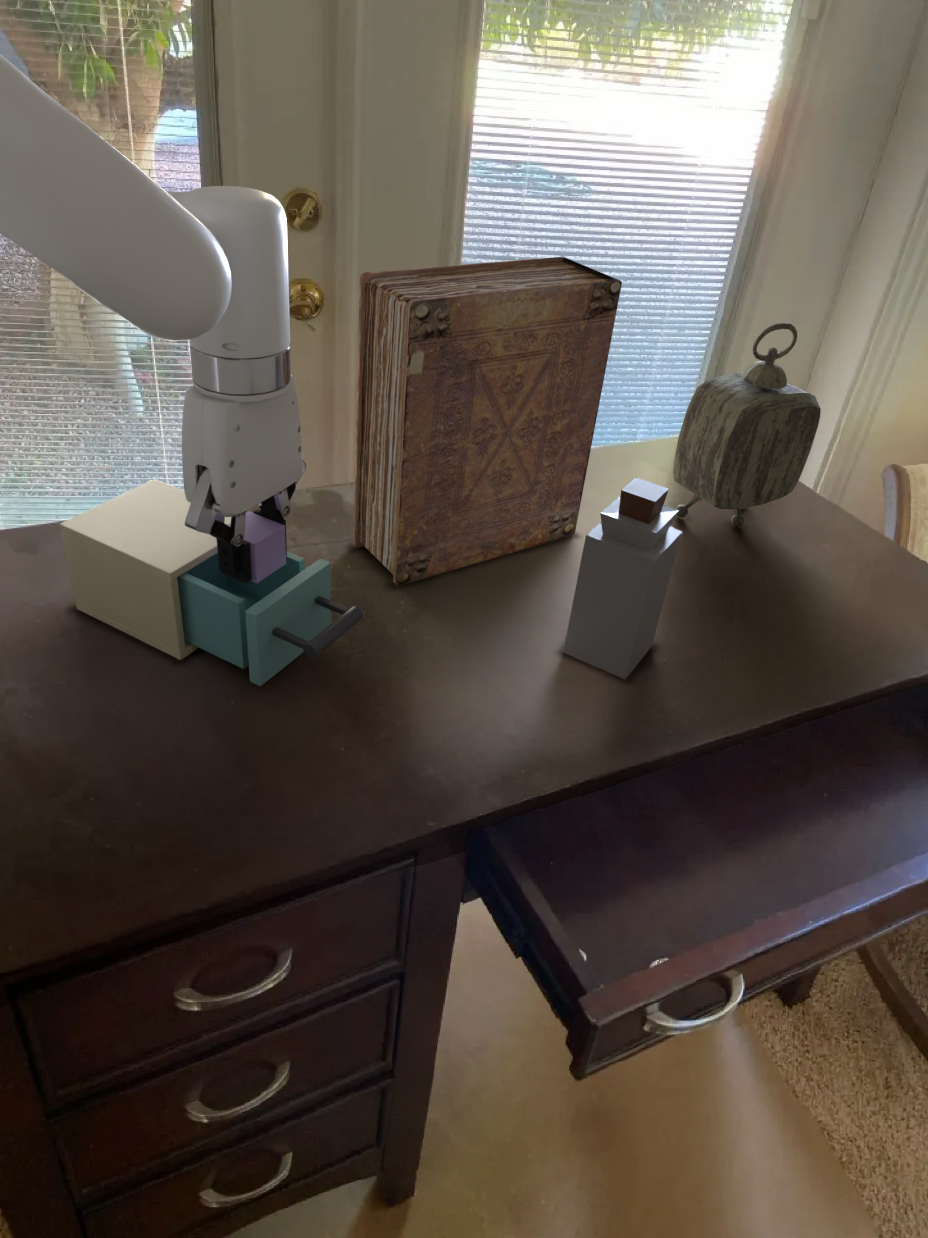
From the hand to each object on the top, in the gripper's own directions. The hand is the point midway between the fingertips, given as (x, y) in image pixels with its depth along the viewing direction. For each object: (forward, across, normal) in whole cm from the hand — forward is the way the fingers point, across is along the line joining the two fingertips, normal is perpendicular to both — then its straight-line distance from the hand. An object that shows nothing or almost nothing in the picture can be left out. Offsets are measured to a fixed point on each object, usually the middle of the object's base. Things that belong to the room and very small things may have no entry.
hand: (253, 563), depth 79 cm
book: (+10, -30, +6) cm, 32 cm away
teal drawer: (+9, 0, +1) cm, 9 cm away
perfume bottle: (+10, -20, +28) cm, 36 cm away
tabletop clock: (+10, -55, +30) cm, 63 cm away
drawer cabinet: (+9, 0, -11) cm, 14 cm away
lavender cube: (0, 0, 0) cm, 0 cm away
